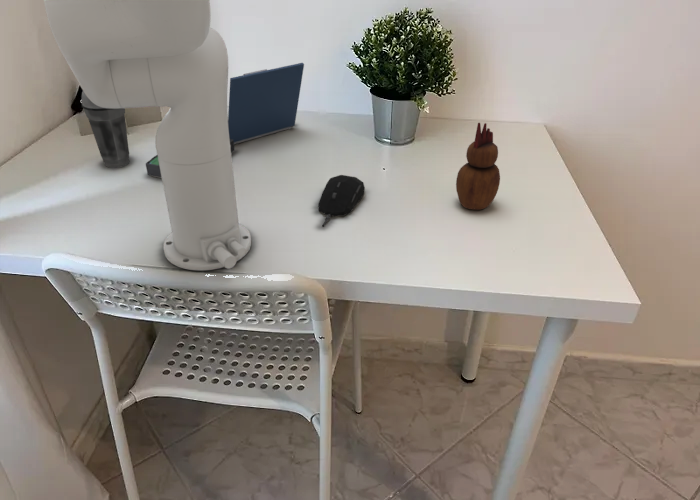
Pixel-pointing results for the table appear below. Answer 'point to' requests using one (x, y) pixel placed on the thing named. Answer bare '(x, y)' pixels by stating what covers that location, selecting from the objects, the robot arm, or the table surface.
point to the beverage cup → (108, 132)
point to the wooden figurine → (479, 172)
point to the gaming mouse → (340, 196)
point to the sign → (263, 102)
